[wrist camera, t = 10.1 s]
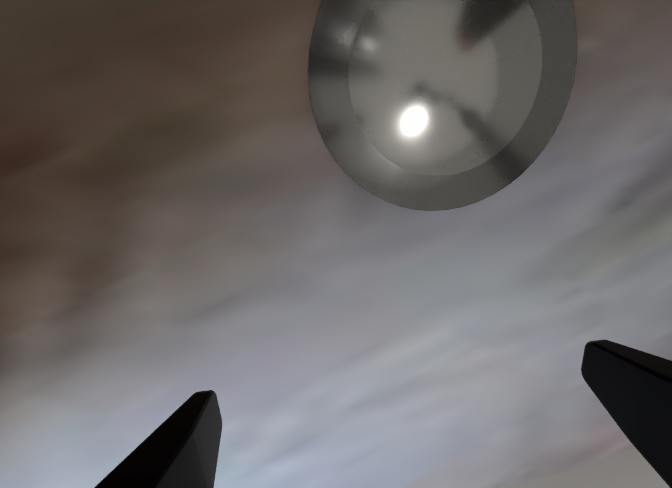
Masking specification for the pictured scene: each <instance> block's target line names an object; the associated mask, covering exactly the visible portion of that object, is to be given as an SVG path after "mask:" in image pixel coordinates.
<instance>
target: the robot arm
mask: <svg viewBox="0 0 672 488" xmlns="http://www.w3.org/2000/svg"><path fill="white" fill-rule="evenodd" d="M581 372H582V376H583V378H584V380H585V381H586V383H587V384H588V386H589V387H590V388H591V390H592V391H593V392H594V394H595V395H596V396H597V398H598V399H599V400H600V402H601V403H602V404H603V406H604V407H605V408H606V410H607V411H608V413H609V414H610V415H611V417H612V418H613V419H614V421H615V422H616V423H617V425H618V426H619V427H620V429H621V430H622V431H623V433H624V434H625V435H626V437H627V438H628V439H629V440H630V442H631V443H632V444H633V445H634V446H635V448H636V449H638V451H639V452H640V453H641V454H642V456H643V457H644V458H645V459H646V460H647V461H648V463H649V464H650V465H651V466H652V467H653V468H654V469H655V471H656V472H657V473H658V474H659V475H660V476H661V477H662V479H663V480H664V481H665V482H666V483H667V484H668V485H669V487H670V488H672V361H670V360H667V359H664V358H661V357H658V356H655V355H652V354H649V353H646V352H643V351H639V350H636V349H633V348H630V347H627V346H624V345H621V344H618V343H615V342H612V341H608V340H597V341H590V342H588V343H587V344H586V345H585V349H584V355H583V361H582V367H581ZM221 431H222V418H221V414H220V409H219V405H218V401H217V396H216V394H215V392H214V391H212V390H209V391H201V392H196V393H194V394H193V395H192V396H191V397H190V398H189V399H188V400H187V401H186V402H185V403H184V404H182V405H181V406H180V407H179V408H178V409H177V410H176V411H175V412H174V413H173V414H172V415H171V416H170V417H169V418H168V419H167V420H166V421H164V422H163V423H162V424H161V425H160V426H159V427H158V428H157V429H156V430H155V431H154V432H153V433H152V434H151V435H150V436H149V437H148V438H146V439H145V440H144V441H143V442H142V443H141V444H140V445H139V446H138V447H137V448H136V449H135V450H134V451H133V452H132V453H131V454H130V455H128V456H127V457H126V458H125V459H124V460H123V461H122V462H121V463H120V464H119V465H118V466H117V467H116V468H115V469H114V470H113V471H111V472H110V473H109V474H108V475H107V476H106V477H105V478H104V479H103V480H102V481H101V482H100V483H99V484H98V485H97V486H96V487H95V488H213V487H214V480H215V473H216V466H217V459H218V452H219V445H220V438H221Z"/></svg>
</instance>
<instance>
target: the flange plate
mask: <svg viewBox="0 0 672 488" xmlns="http://www.w3.org/2000/svg"><path fill="white" fill-rule="evenodd" d="M576 63H577V31H576V21H575V16H574V11H573V6H572V2H571V0H323V2H322V4H321V6H320V9H319V12H318V15H317V18H316V22H315V25H314V28H313V33H312V39H311V44H310V50H309V66H308V82H309V95H310V100H311V106H312V111H313V115H314V118H315V121H316V124H317V127H318V130H319V132H320V134H321V137H322V139H323V141H324V143H325V145H326V147H327V148H328V150H329V152H330V153H331V155H332V156H333V158H334V159H335V161H336V162H337V163H338V164H339V165H340V167H341V168H342V169H343V170H344V172H346V173H347V174H348V175H349V176H350V177H351V178H352V179H353V180H354V181H355V182H356V183H357V184H358V185H360V186H361V187H363V188H364V189H365V190H367V191H368V192H370V193H371V194H373V195H375V196H376V197H378V198H380V199H382V200H384V201H386V202H389V203H392V204H395V205H397V206H400V207H405V208H410V209H415V210H427V211H436V210H449V209H454V208H459V207H463V206H466V205H470V204H473V203H476V202H478V201H480V200H483V199H485V198H487V197H489V196H491V195H493V194H495V193H496V192H498V191H500V190H501V189H503V188H504V187H506V186H507V185H509V184H510V183H511V182H512V181H514V180H515V179H516V178H518V177H519V176H520V175H521V174H522V173H523V172H524V171H525V170H526V169H527V168H528V167H529V166H530V165H531V164H532V163H533V162H534V161H535V159H536V158H537V157H538V156H539V155H540V153H541V152H542V151H543V150H544V148H545V147H546V145H547V143H548V142H549V140H550V139H551V137H552V136H553V134H554V132H555V130H556V128H557V126H558V124H559V122H560V121H561V119H562V116H563V114H564V111H565V108H566V106H567V103H568V101H569V97H570V93H571V89H572V86H573V82H574V76H575V69H576Z"/></svg>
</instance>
